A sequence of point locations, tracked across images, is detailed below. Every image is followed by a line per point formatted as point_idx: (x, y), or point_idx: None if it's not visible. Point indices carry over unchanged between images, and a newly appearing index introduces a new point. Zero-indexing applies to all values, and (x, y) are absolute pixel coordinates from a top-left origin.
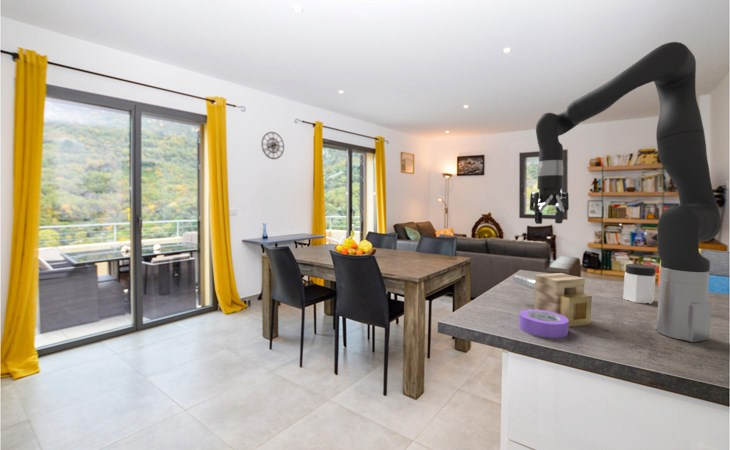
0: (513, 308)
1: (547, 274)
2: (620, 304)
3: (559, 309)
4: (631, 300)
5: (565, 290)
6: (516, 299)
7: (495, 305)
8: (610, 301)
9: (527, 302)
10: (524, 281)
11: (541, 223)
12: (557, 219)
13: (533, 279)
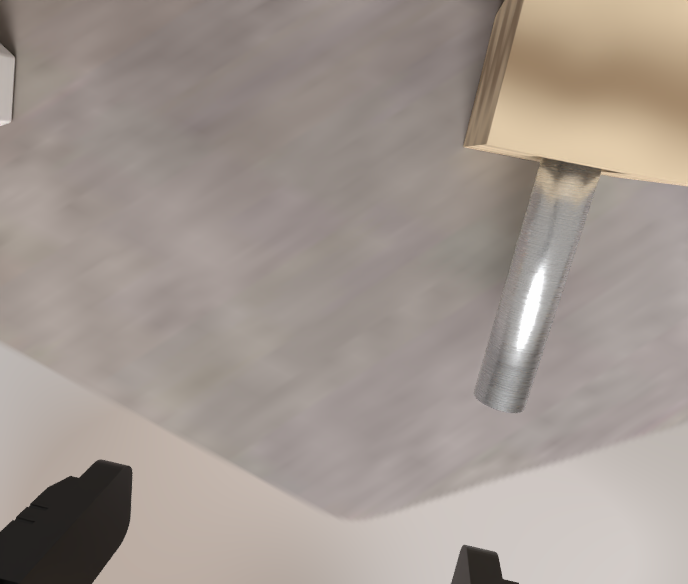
0: (615, 276)
1: (627, 158)
2: (105, 77)
3: None
4: (11, 79)
5: None
6: (468, 358)
7: (646, 345)
8: (101, 129)
9: (467, 304)
10: (551, 322)
11: (466, 547)
12: (97, 543)
13: (547, 279)
